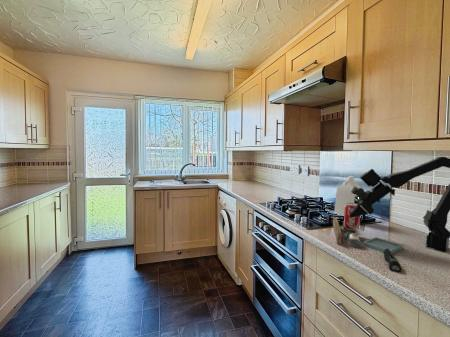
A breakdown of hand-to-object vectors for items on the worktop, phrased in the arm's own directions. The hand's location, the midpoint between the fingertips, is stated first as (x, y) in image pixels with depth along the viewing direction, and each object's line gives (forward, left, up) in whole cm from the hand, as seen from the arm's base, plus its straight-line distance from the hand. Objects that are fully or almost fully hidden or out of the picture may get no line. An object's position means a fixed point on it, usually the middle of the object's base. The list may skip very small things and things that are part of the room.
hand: (348, 214), depth 120 cm
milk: (+16, -27, -10) cm, 33 cm away
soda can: (-1, -1, -7) cm, 7 cm away
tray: (-16, +1, -10) cm, 19 cm away
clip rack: (+1, +1, -10) cm, 10 cm away
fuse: (-8, +8, -10) cm, 15 cm away
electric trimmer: (-25, +14, -11) cm, 31 cm away
